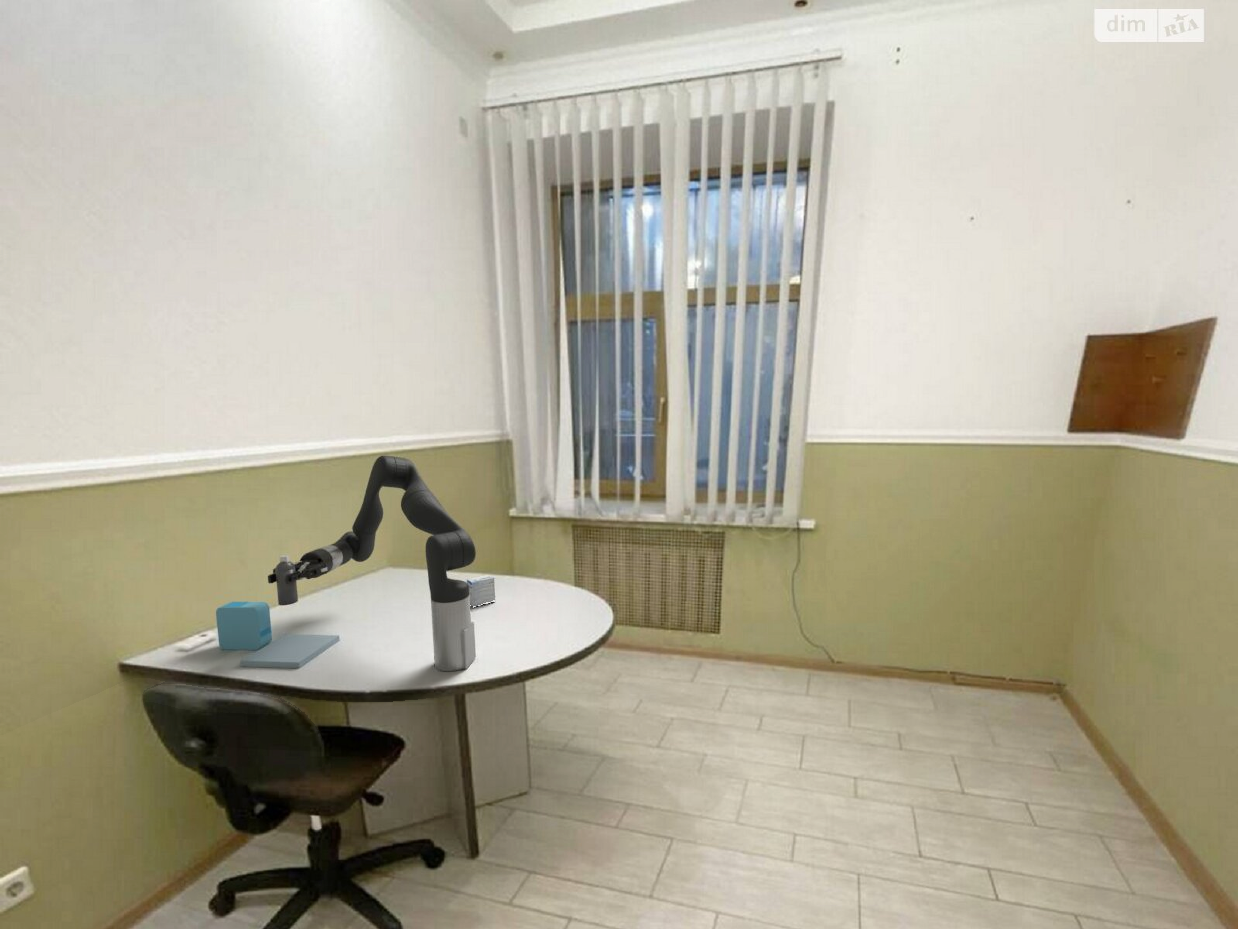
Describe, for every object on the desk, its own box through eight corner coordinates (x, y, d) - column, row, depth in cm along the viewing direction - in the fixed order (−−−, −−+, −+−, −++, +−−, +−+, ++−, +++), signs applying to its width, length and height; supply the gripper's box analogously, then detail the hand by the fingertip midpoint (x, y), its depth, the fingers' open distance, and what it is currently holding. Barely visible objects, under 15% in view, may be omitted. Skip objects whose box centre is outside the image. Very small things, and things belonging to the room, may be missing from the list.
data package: (273, 643, 147) (269, 601, 146) (260, 650, 143) (257, 607, 142) (232, 642, 148) (228, 601, 147) (219, 650, 144) (214, 607, 143)
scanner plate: (339, 640, 148) (339, 635, 148) (299, 668, 132) (299, 662, 132) (286, 639, 150) (286, 634, 150) (240, 666, 134) (240, 660, 134)
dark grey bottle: (301, 599, 142) (297, 553, 140) (290, 605, 137) (285, 558, 136) (286, 599, 142) (282, 553, 141) (274, 605, 138) (270, 558, 136)
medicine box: (489, 599, 179) (488, 574, 178) (495, 602, 175) (494, 577, 175) (467, 605, 174) (466, 579, 173) (473, 608, 170) (472, 582, 170)
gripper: (297, 548, 153) (251, 565, 136) (344, 548, 152) (302, 565, 135) (300, 573, 154) (253, 593, 137) (346, 573, 153) (305, 594, 136)
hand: (278, 579), depth 136 cm, fingers closed on dark grey bottle, 4 cm apart
